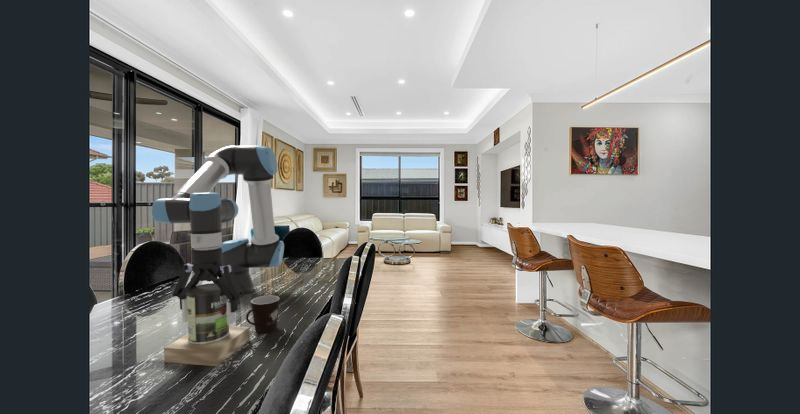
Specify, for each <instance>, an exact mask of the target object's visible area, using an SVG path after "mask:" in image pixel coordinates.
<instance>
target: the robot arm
mask: <svg viewBox="0 0 800 414" xmlns="http://www.w3.org/2000/svg"><path fill="white" fill-rule="evenodd" d="M203 159H204V158H203ZM277 161H278V160H277V157H276V154H275V152H274V151H273V149H272V148H271V147H270V146H263V145H229V146H228V145H227V146H225V147H221V148H220V149H217V150H215V151H214V152H212V153H210V154H209V155H208V156H206V157H205V159H204V160H203V161H202V163H201V167H200V168H199V169H198V170H197V171H195V173H193V174H192V176H191V177H189V179H187V180H186V182H185V183H184V184H183V185H182V186H181V187H180V188H178V190H176V192H175V193H174V194H173V195H172V196H171V197H170V198H167V197H164V198H158V199H155V201H154V202H153V203H152V206H151V215H152V218H153V219H154V221H156V222H157V223H159V224H171V225H172V224H190V226H189V227H190V231H189V232H190V247H191V248H192V249H191V251H190V258H191V259H190V261H191V262H188V263H186V264H183V265H182V266H181V273H180V275H179V277H178V280H177V282H176V284H175V287H174V289H173V293H172V294H171V295H172V297H177V298H178V299H179V309H180V310H181V312H182V313H181V314H182V315H181V316H182V323H188V313H187V294H186V291H187V290H188V289H190V288H193V287H195V286H198V284H199V282H205V281H206V282H212V283H215V284H217V286H218V287H219V288H220V289H221V291H222V292H223V293H224V294H225V296H226V297H227V298H228V301H227V325H229V326H232V324H234V323H235V322H236V321H237V320H236V312H237V311H238V310H239V305H238V303H239V302H238V300H240V299H242V298H243V297H244V296H245V295H246V294H248V293H251V292H253V291H254V289H255V284H254V282H253V279H252V277H251V276H252V275H251V273H250V269H261V268H262V269H263V268H265V269H267V268H269V269H270V268H277V267H280V266H281V264H282V261H283V257H284V254H285V253H284V251H285V243H284V241H283V240H280V236H279V235H278V234H276V230H275V220H274V219H275V218H274V211H273V199H272V198H273V197H272V188H271V182H272V180H273V179H274V176H275V175H277V173H278V163H277ZM230 175H236V176H237V175H242V178H243V181H244V182H245V183H247V186H248V195H249V203H250V204H249V205H250V213H251V220H252V229H253V236H252V238H251V239H250V240H249V238H248V237H245V238H243V237H242V238H235V239H231V240H226V241H223V235H222V224H224V223H228V222H231V221H233V220H234V219H235V218H236V217H237V216H238V214H239V206H238V204H237V203H236V201H234V200H233V199H231V198H227V197H221V195H220V193H218V192H212V190H213V189H214V188H215V186H216V185H217V184H218V183H219V182H220V180H223V179H225V178H227V176H230ZM192 272H193V275H192V277H191V274H192ZM190 277H191V278H190ZM189 279H190V280H189Z"/></svg>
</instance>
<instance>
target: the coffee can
mask: <svg viewBox="0 0 800 414" xmlns="http://www.w3.org/2000/svg"><path fill="white" fill-rule="evenodd" d="M186 294H187V313H188V321H187V334H188V342H189V343H191V344H195V345H203V344H210V343H214V342H217V341H220V340H222V339H224V338H226V337H227V336H228V335H229V326H230V325H227V301H229V299H228V298H227V297H226V296H225V294H224V293H223V292H222V291H221V289H220V288H219V287H218V286H217V284H215V283H213V282H212V283H204V284H199V285H198V284H197V285H196V286H195V287H193V288H190V289H188V290H187V291H186Z"/></svg>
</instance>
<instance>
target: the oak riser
mask: <svg viewBox="0 0 800 414" xmlns="http://www.w3.org/2000/svg"><path fill="white" fill-rule="evenodd" d="M250 331H251V330H250V327H249V326H236V325H229V335H228V336H227V337H226V338H224V339H222V340H220V341H217V342H214V343H210V344H203V345H195V344H191V343H189V342H188V333H187V334H185V335H183V336H182V337H180V338H178V339H177V340H175V341H173V342H171V343H170V344H167V346H164V347H163V353H164V354H163V355H164V363H168V364H169V363H170V364H182V365H183V364H184V365H196V366H211V367H218V366H219V365H220V364H221V363H223V362H224V361H225V360H226V359H227V358H229V357H230V356H232V354H234V353H236V350H237V349H238V350H239V349H240V348H242V347H243V346H244V345H245V344H246V342H247V341H248V342H249V341H250V340H251V336H250V335H251V334H250ZM248 342H247V343H248ZM242 345H243V346H242ZM241 346H242V347H241ZM238 350H237V351H238Z"/></svg>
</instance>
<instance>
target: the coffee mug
mask: <svg viewBox="0 0 800 414" xmlns="http://www.w3.org/2000/svg"><path fill="white" fill-rule="evenodd" d="M250 304H251V305H250V306H251V309H250V310H249V311H247V313H246V315H245V316H246V317H245V319H246V322H247V323H248V324H249V325H251V326H252V325H253V326H254V330H255V331H254V332H255V333H256V334H258V335H266V334H270V333H273V332H275V331H276V330H277V327H278V317H279V307H280V297H279V296H277V295H273V294H272V295H270V294H269V295H261V296H257V297H254V298H253V299H251V300H250ZM251 313H252V317H253V318H252V319H253V322H252V321H251V320H249V315H250V314H251Z"/></svg>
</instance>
